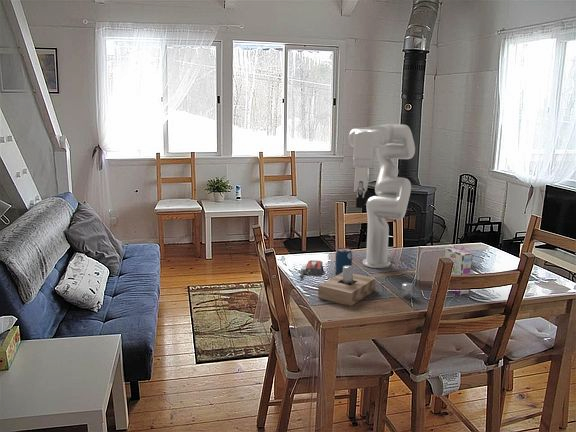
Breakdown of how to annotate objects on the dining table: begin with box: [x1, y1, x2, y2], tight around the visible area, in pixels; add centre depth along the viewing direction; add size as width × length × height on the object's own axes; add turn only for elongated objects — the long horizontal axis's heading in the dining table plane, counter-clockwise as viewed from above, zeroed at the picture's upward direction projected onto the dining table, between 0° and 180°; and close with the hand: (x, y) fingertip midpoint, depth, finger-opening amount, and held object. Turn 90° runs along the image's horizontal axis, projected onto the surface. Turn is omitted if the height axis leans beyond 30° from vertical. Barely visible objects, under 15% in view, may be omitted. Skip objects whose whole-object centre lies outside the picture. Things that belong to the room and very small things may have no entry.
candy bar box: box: [443, 246, 474, 296], centre depth 208 cm, size 11×5×16 cm, turn 22°
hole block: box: [317, 272, 376, 307], centre depth 204 cm, size 20×14×5 cm
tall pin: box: [342, 265, 354, 285], centre depth 204 cm, size 4×4×11 cm
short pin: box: [401, 282, 414, 300], centre depth 202 cm, size 4×4×5 cm
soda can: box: [334, 247, 353, 276], centre depth 223 cm, size 7×7×12 cm
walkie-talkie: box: [299, 259, 324, 279], centre depth 229 cm, size 9×4×20 cm
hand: (361, 205), depth 212 cm, fingers open, 9 cm apart
